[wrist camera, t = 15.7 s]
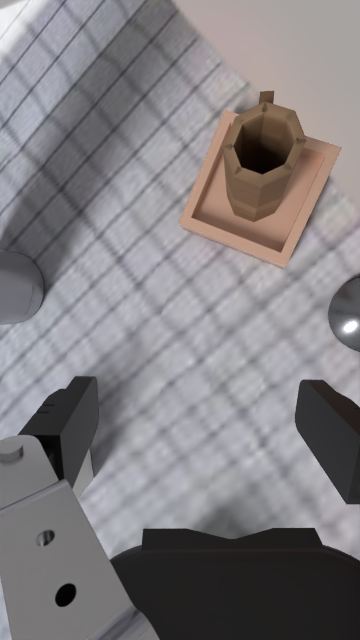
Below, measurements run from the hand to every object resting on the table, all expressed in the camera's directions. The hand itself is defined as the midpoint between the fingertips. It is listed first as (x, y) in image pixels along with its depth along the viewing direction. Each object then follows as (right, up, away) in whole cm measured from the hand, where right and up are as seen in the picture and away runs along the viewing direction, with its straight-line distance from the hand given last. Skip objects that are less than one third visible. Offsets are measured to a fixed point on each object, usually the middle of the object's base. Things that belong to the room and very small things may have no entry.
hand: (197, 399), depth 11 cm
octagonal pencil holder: (+7, +17, +19) cm, 26 cm away
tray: (+7, +17, +20) cm, 27 cm away
